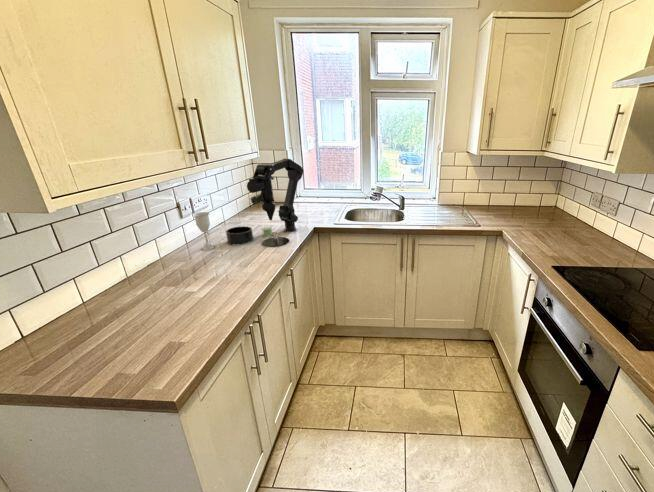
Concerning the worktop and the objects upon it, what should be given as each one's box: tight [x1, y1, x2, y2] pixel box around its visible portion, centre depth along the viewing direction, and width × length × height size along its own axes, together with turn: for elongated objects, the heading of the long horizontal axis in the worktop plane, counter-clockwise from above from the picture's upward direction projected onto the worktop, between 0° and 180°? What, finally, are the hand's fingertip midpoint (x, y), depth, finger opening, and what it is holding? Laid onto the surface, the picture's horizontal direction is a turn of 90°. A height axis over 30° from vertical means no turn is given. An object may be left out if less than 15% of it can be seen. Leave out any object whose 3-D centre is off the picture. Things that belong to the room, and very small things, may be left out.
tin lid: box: [262, 231, 290, 248], centre depth 168 cm, size 14×14×6 cm
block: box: [262, 226, 273, 237], centre depth 180 cm, size 4×4×4 cm
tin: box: [225, 225, 254, 246], centre depth 169 cm, size 13×13×6 cm
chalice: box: [192, 211, 215, 251], centre depth 157 cm, size 7×7×18 cm
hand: (270, 217), depth 171 cm, fingers open, 9 cm apart
